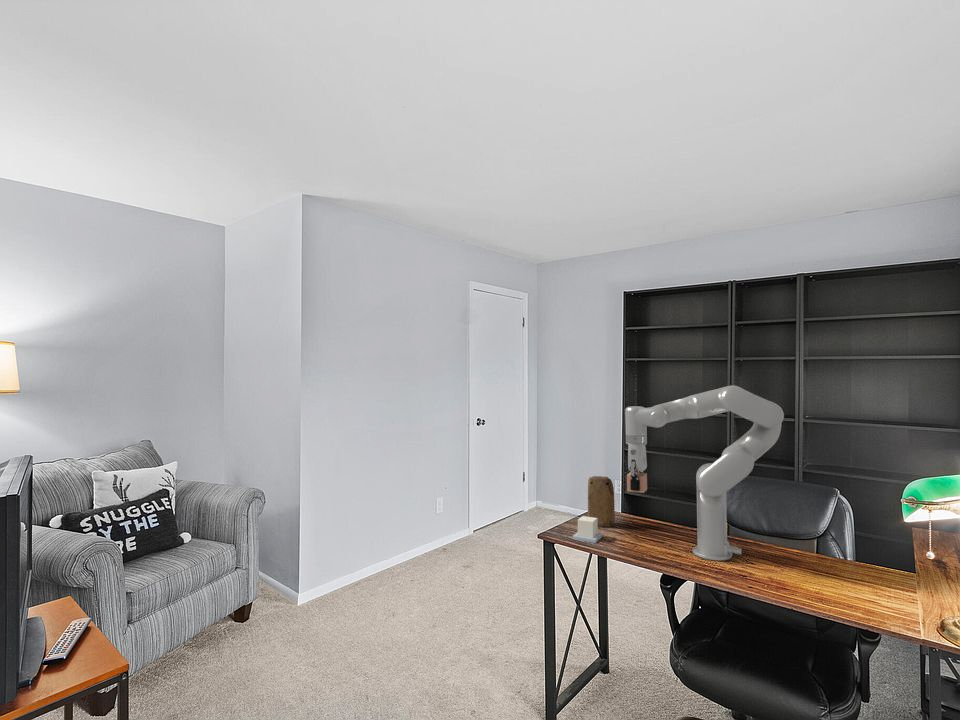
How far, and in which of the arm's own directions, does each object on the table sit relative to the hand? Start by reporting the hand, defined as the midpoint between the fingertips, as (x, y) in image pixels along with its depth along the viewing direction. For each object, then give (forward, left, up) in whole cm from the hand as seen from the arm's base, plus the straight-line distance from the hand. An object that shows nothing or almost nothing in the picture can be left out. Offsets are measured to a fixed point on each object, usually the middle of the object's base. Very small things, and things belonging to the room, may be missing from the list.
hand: (637, 488), depth 191 cm
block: (+19, -19, -21) cm, 34 cm away
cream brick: (+19, 0, -20) cm, 28 cm away
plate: (+19, 0, -21) cm, 29 cm away
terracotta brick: (0, 0, -1) cm, 1 cm away
